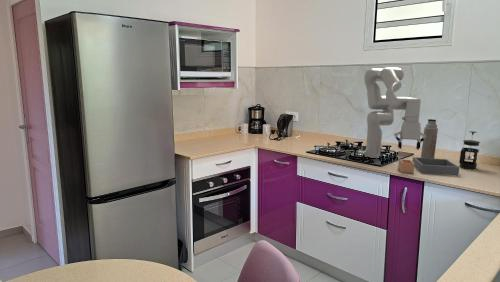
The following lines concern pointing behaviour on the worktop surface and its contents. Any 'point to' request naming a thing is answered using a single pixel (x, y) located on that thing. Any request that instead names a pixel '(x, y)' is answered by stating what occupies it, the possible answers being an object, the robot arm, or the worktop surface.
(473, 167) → the french press
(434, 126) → the thermos bottle
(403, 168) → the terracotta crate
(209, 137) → the worktop surface
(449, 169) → the charcoal crate
